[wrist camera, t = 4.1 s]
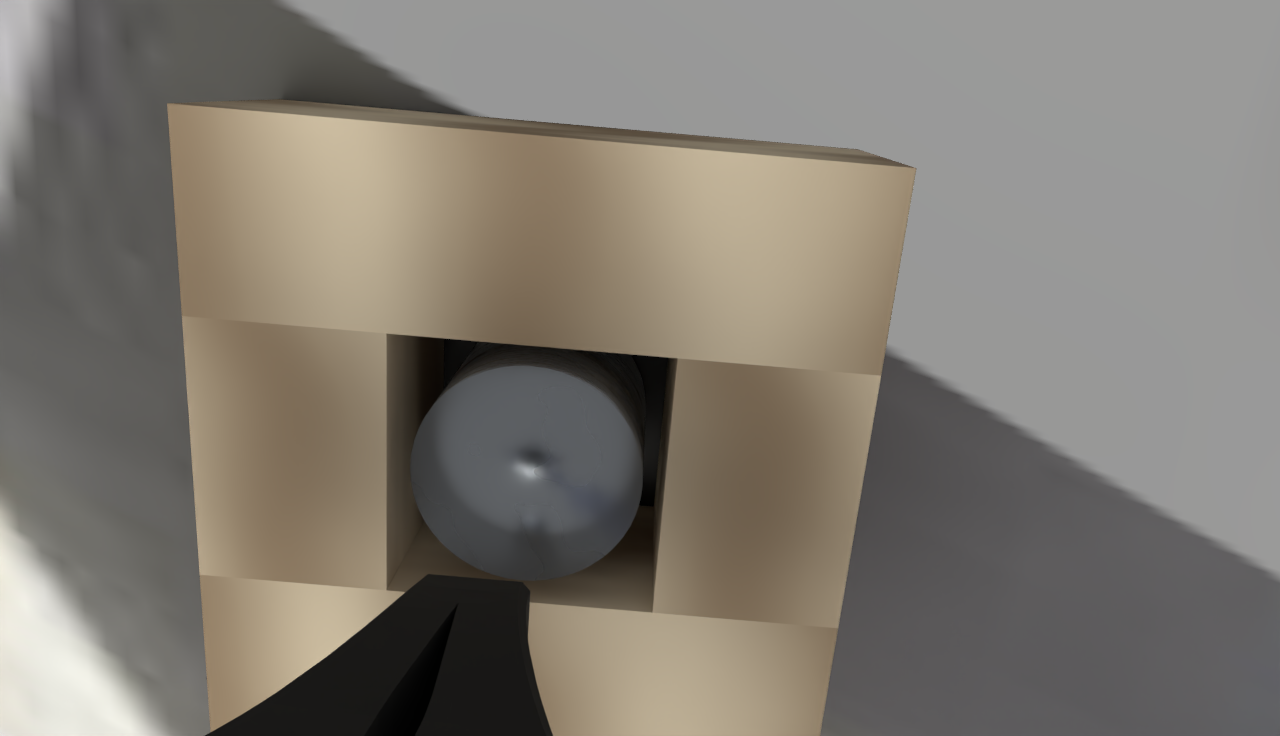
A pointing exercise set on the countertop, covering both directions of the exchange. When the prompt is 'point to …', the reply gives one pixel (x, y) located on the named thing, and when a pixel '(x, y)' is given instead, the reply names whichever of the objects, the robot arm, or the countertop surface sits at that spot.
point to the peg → (532, 459)
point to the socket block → (546, 317)
